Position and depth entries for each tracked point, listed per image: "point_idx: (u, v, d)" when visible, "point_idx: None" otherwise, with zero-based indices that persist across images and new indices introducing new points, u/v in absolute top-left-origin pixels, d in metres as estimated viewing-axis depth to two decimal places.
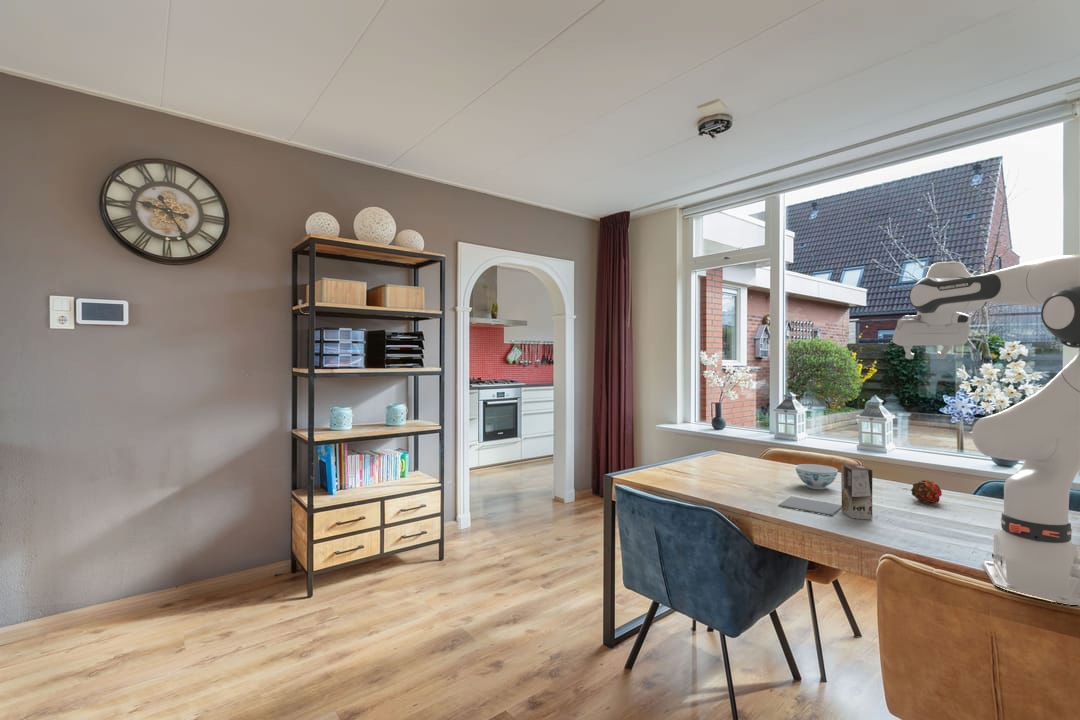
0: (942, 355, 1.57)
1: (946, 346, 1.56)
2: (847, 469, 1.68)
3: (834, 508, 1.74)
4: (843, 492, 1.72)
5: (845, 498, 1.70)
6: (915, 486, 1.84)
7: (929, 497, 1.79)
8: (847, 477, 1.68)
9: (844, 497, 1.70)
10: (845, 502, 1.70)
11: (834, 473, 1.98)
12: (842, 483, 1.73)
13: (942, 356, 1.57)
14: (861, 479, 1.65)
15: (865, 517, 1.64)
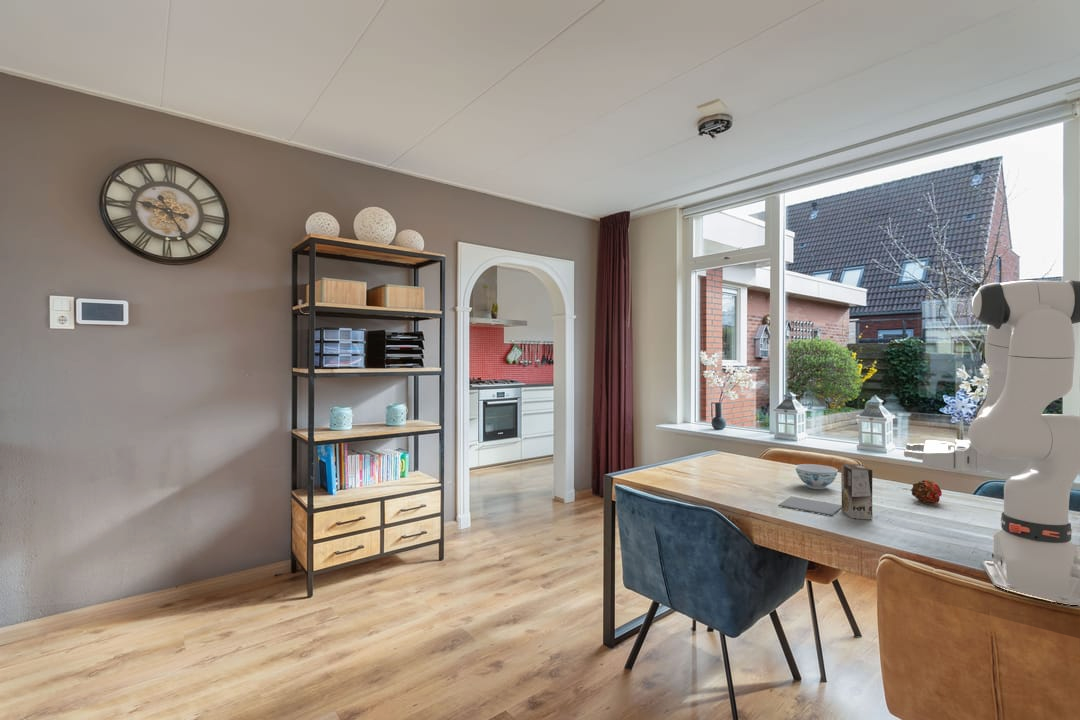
0: (909, 450, 1.55)
1: None
2: (847, 469, 1.68)
3: (834, 508, 1.74)
4: (843, 492, 1.72)
5: (845, 498, 1.70)
6: (915, 486, 1.84)
7: (929, 497, 1.79)
8: (847, 477, 1.68)
9: (844, 497, 1.70)
10: (845, 502, 1.70)
11: (834, 473, 1.98)
12: (842, 483, 1.73)
13: (907, 450, 1.55)
14: (861, 479, 1.65)
15: (865, 517, 1.64)
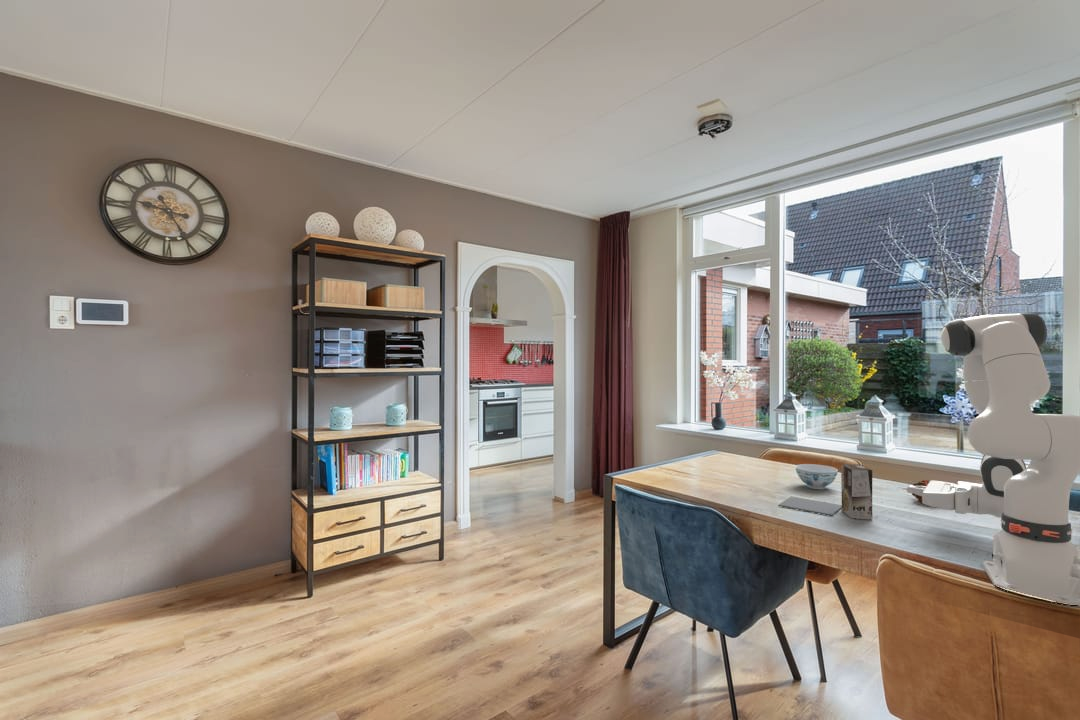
0: (912, 486, 1.58)
1: None
2: (847, 469, 1.68)
3: (834, 508, 1.74)
4: (843, 492, 1.72)
5: (845, 498, 1.70)
6: None
7: None
8: (847, 477, 1.68)
9: (844, 497, 1.70)
10: (845, 502, 1.70)
11: (834, 473, 1.98)
12: (842, 483, 1.73)
13: (911, 486, 1.58)
14: (861, 479, 1.65)
15: (865, 517, 1.64)
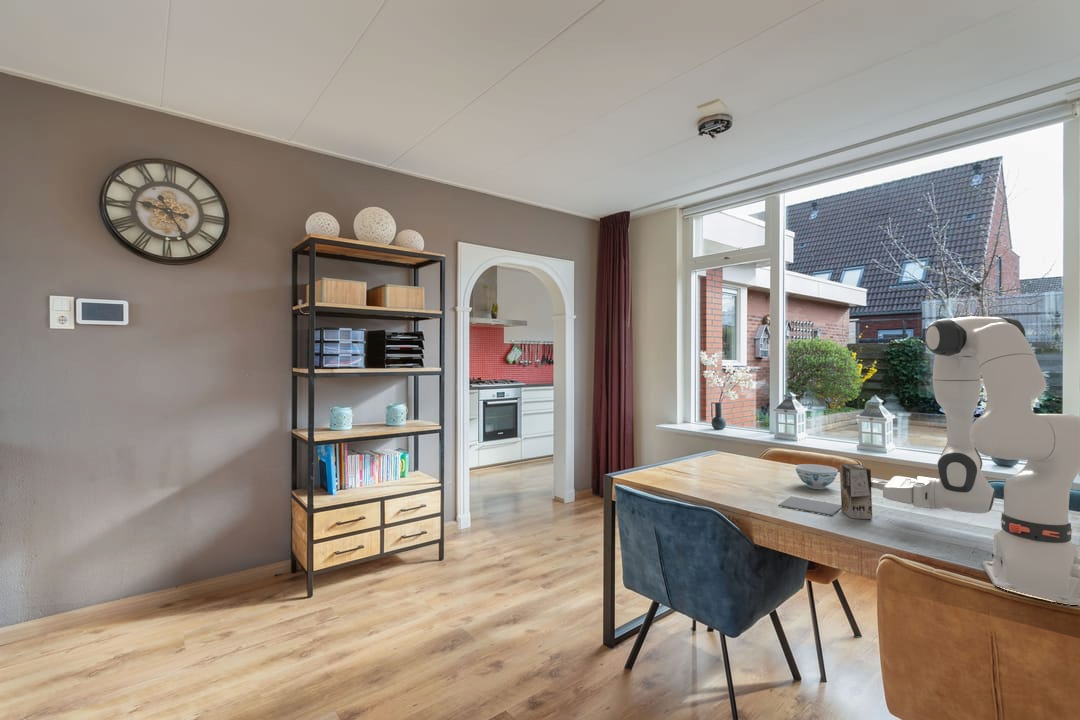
0: (875, 481, 1.65)
1: None
2: (845, 469, 1.68)
3: (834, 508, 1.74)
4: (842, 492, 1.72)
5: (845, 498, 1.70)
6: None
7: None
8: (846, 477, 1.68)
9: (844, 497, 1.70)
10: (845, 502, 1.70)
11: (834, 473, 1.98)
12: (841, 483, 1.73)
13: (874, 481, 1.65)
14: (860, 479, 1.65)
15: (865, 517, 1.64)
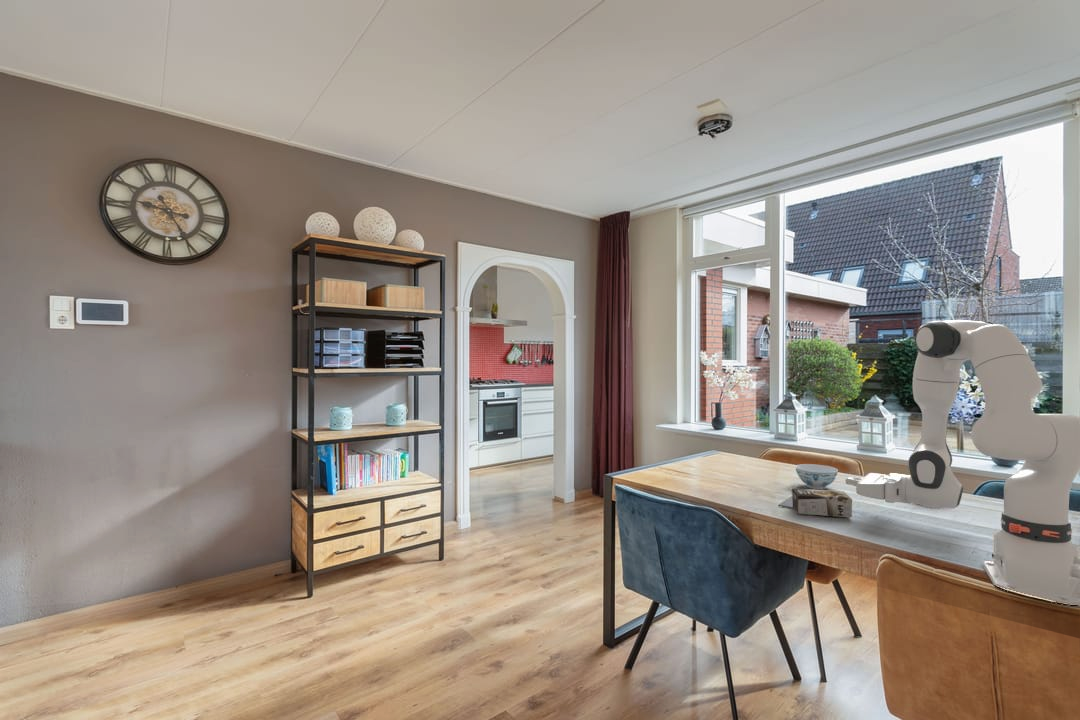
0: (850, 478, 1.70)
1: None
2: None
3: None
4: None
5: None
6: None
7: None
8: None
9: None
10: None
11: (834, 473, 1.98)
12: None
13: (849, 478, 1.70)
14: (808, 505, 1.68)
15: (850, 505, 1.64)
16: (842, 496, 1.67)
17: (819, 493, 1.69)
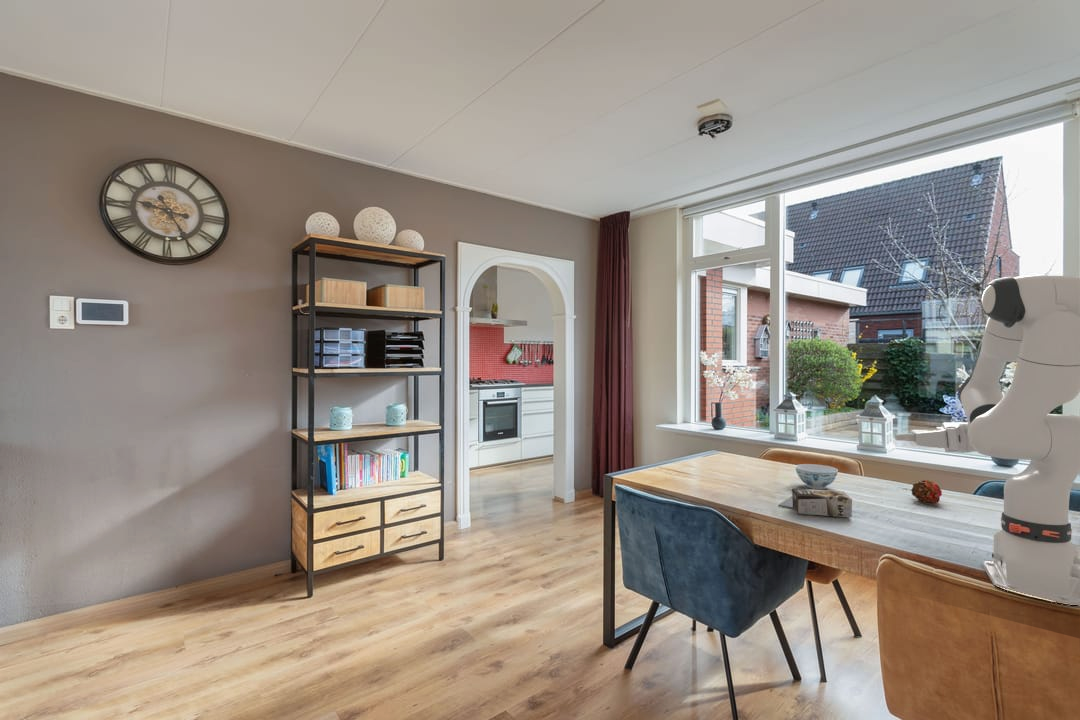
0: (899, 434, 1.58)
1: None
2: None
3: None
4: None
5: None
6: (915, 486, 1.84)
7: (929, 497, 1.79)
8: None
9: None
10: None
11: (834, 473, 1.98)
12: None
13: (898, 434, 1.59)
14: (808, 505, 1.68)
15: (850, 505, 1.64)
16: (842, 496, 1.67)
17: (819, 493, 1.69)
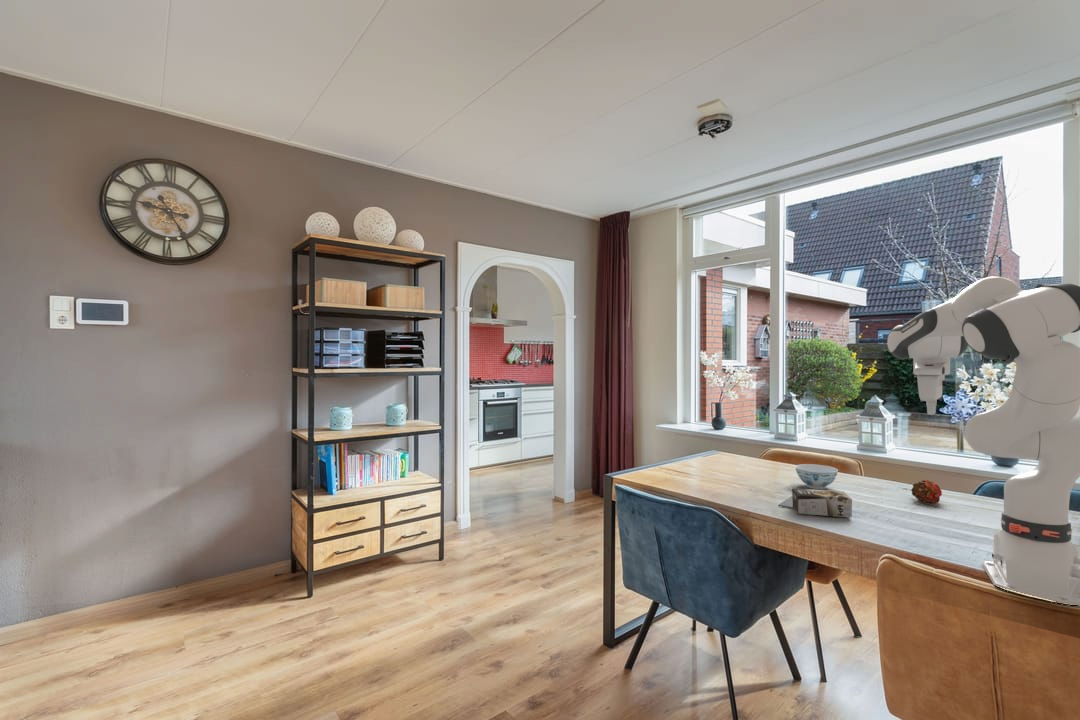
0: None
1: None
2: None
3: None
4: None
5: None
6: (915, 486, 1.84)
7: (929, 497, 1.79)
8: None
9: None
10: None
11: (834, 473, 1.98)
12: None
13: None
14: (808, 505, 1.68)
15: (850, 505, 1.64)
16: (842, 496, 1.67)
17: (819, 493, 1.69)
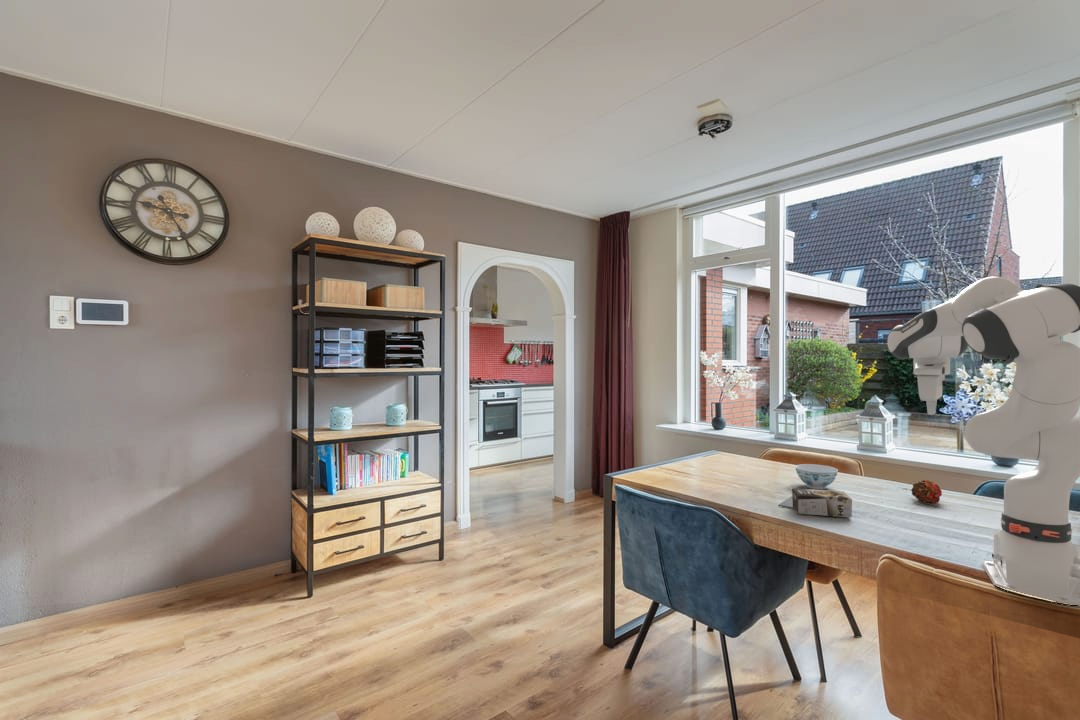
0: None
1: None
2: None
3: None
4: None
5: None
6: (915, 486, 1.84)
7: (929, 497, 1.79)
8: None
9: None
10: None
11: (834, 473, 1.98)
12: None
13: None
14: (808, 505, 1.68)
15: (850, 505, 1.64)
16: (842, 496, 1.67)
17: (819, 493, 1.69)
